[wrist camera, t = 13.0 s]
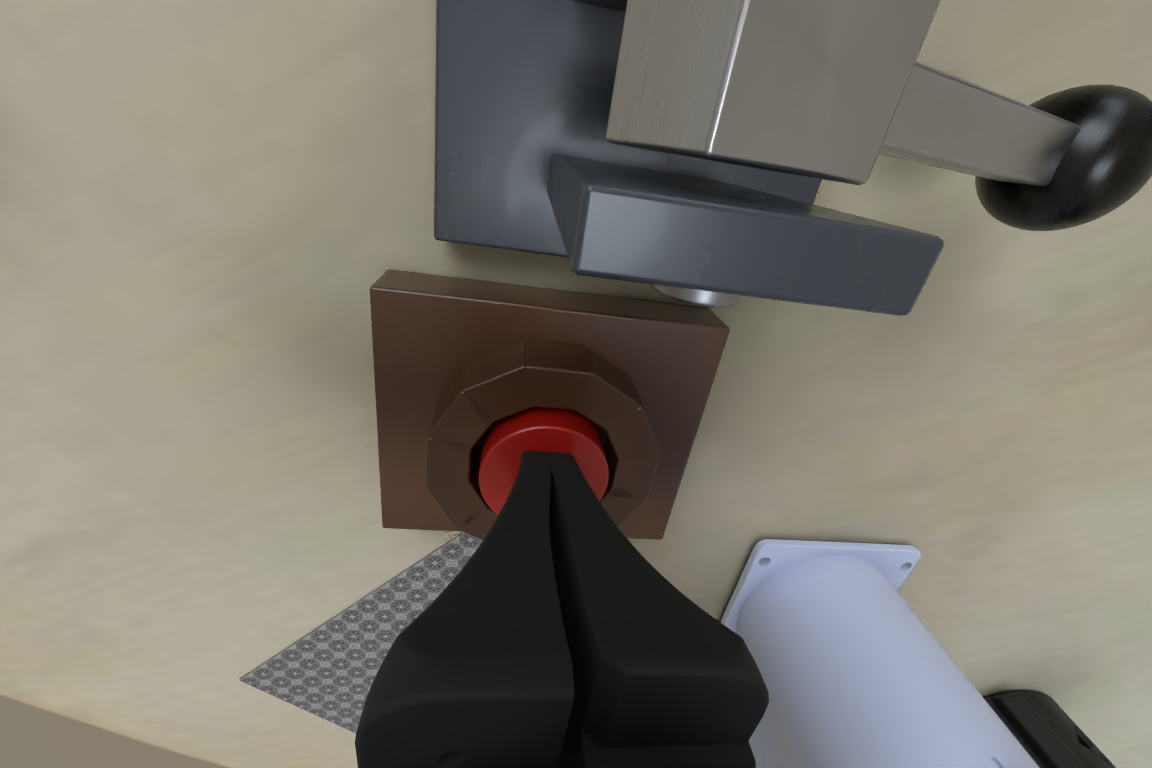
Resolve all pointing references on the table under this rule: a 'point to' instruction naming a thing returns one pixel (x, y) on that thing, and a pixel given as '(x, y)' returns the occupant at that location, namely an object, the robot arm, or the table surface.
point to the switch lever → (866, 105)
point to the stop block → (532, 390)
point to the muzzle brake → (1046, 731)
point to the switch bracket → (630, 177)
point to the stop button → (539, 449)
